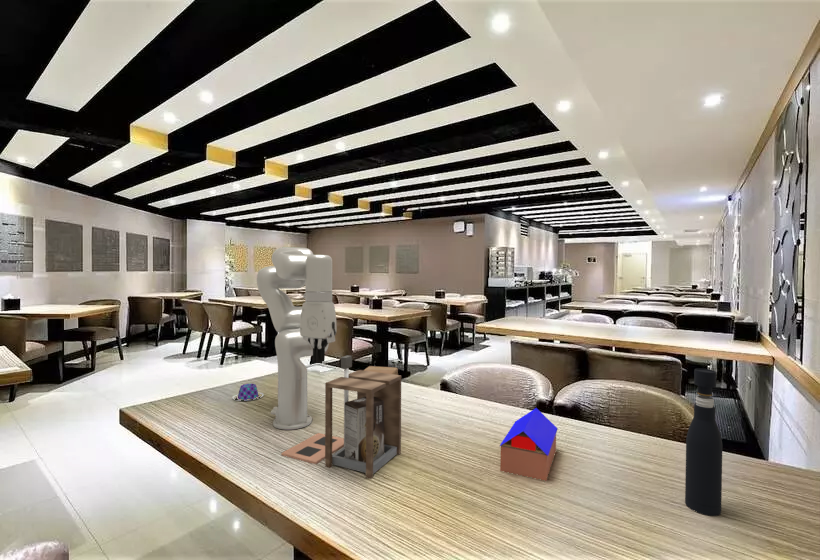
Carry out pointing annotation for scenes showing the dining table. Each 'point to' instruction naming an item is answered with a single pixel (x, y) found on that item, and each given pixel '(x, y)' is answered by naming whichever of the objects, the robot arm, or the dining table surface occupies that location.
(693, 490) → the wine bottle
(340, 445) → the board
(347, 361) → the cradle
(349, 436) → the coffee box
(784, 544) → the dining table surface
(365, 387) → the brown wooden stand
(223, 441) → the dining table surface
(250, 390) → the purple checkered hat
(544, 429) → the house
